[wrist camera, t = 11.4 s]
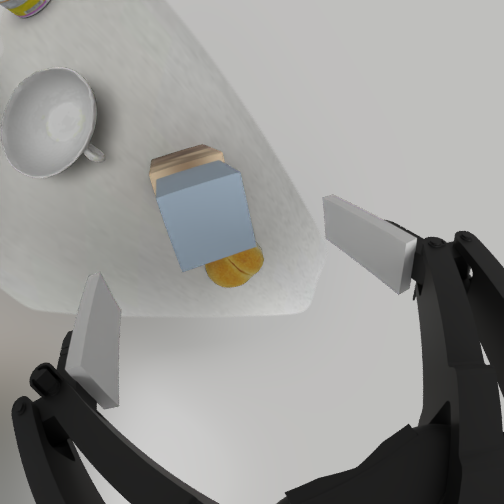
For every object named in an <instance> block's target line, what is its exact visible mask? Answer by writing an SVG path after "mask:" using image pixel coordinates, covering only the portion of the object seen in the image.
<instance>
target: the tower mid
mask: <svg viewBox="0 0 504 504" xmlns="http://www.w3.org/2000/svg"><path fill="white" fill-rule="evenodd" d="M217 160H220V161H222V162H224V157H223V153H222V152H221V151H218V150H216V149H213V148H207V149H203V150H200V151H196V152H193V153H189V154H186V155H183V156H179V157H176V158H173V159H170V160H166V161H163V162H160V163H157V164H154V165H151V167H150V172H149V176H150V180H151V183H152V186H153V189H154V193H155V196H156V179H159V178H162V177H165V176H168V175H171V174H174V173H177V172H180V171H183V170H187V169H190V168H193V167H196V166H200V165H203V164H207V163H210V162H213V161H217ZM224 163H225V162H224Z"/></svg>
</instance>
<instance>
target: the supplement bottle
mask: <svg viewBox="0 0 504 504" xmlns="http://www.w3.org/2000/svg"><path fill="white" fill-rule="evenodd" d="M49 1H50V0H0V5H2V6H3V7H5V8H6V9H8V10H9V11H11V12H12V13H14V14H15V15H17V16H19V17H21V18H25V17H29V16H32V15H34V14H36V13H37V12H39V11H40V10H41V9H42V8H44V7H45V6H46V4H47V3H48V2H49Z"/></svg>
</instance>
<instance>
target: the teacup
mask: <svg viewBox="0 0 504 504" xmlns="http://www.w3.org/2000/svg"><path fill="white" fill-rule="evenodd" d="M96 119H97V106H96V100H95V96H94V93H93V91H92V88H91V87H90V85H89V84H88V82H87V81H86V80H85V79H84V78H83V77H82V76H81V75H80V74H79V73H78V72H76V71H74V70H72V69H69V68H66V67H52V68H48V69H45V70H41V71H37V72H35V73H33V74H32V75H31V76H30V77H28V78H26V79H24V80H23V81H22V82H21V83H20V84H19V85H18V87H17V88H15V90H14V92H13V93H12V96H11V98H10V100H9V102H8V104H7V106H6V109H5V112H4V116H3V120H2V128H1V133H2V136H1V141H2V145H3V149H4V152H5V155H6V158H7V160H8V162H9V163H10V164H11V165H12V167H13V168H15V169H16V170H17V171H19V172H20V173H22V174H23V175H26V176H29V177H32V178H47V177H50V176H53V175H56V174H58V173H60V172H62V171H64V170H65V169H67V168H68V167H70V166H71V165H72V164H73V163H74V162H75V161H76V160H77V159H78V158H79V156H80V155H81V154H83V153H84V154H85V156H86V157H87V158H88V159H90V160H91V161H94V162H103V161H104V160H105V155H104V153H103V152H101V151H100V150H99V149H98V148H96V147H95V146H94V145H92V144H91V143H89V142H90V140H91V138H92V135H93V133H94V129H95V125H96ZM88 148H89V149H90V150H91V151H92V152H91V151H90V150H89V149H88ZM93 152H94V153H93ZM95 153H96V154H95Z"/></svg>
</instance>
